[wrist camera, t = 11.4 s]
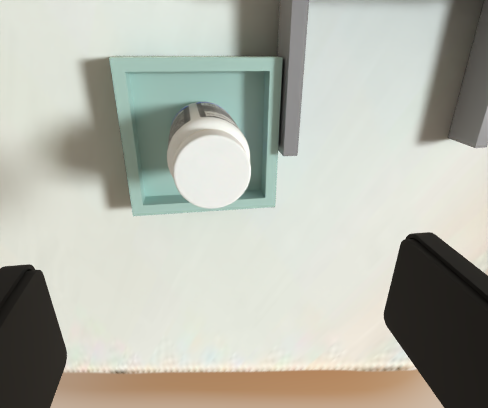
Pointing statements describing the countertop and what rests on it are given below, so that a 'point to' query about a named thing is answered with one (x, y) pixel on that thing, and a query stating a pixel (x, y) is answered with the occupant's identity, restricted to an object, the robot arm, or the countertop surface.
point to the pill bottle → (208, 156)
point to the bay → (293, 52)
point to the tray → (180, 95)
